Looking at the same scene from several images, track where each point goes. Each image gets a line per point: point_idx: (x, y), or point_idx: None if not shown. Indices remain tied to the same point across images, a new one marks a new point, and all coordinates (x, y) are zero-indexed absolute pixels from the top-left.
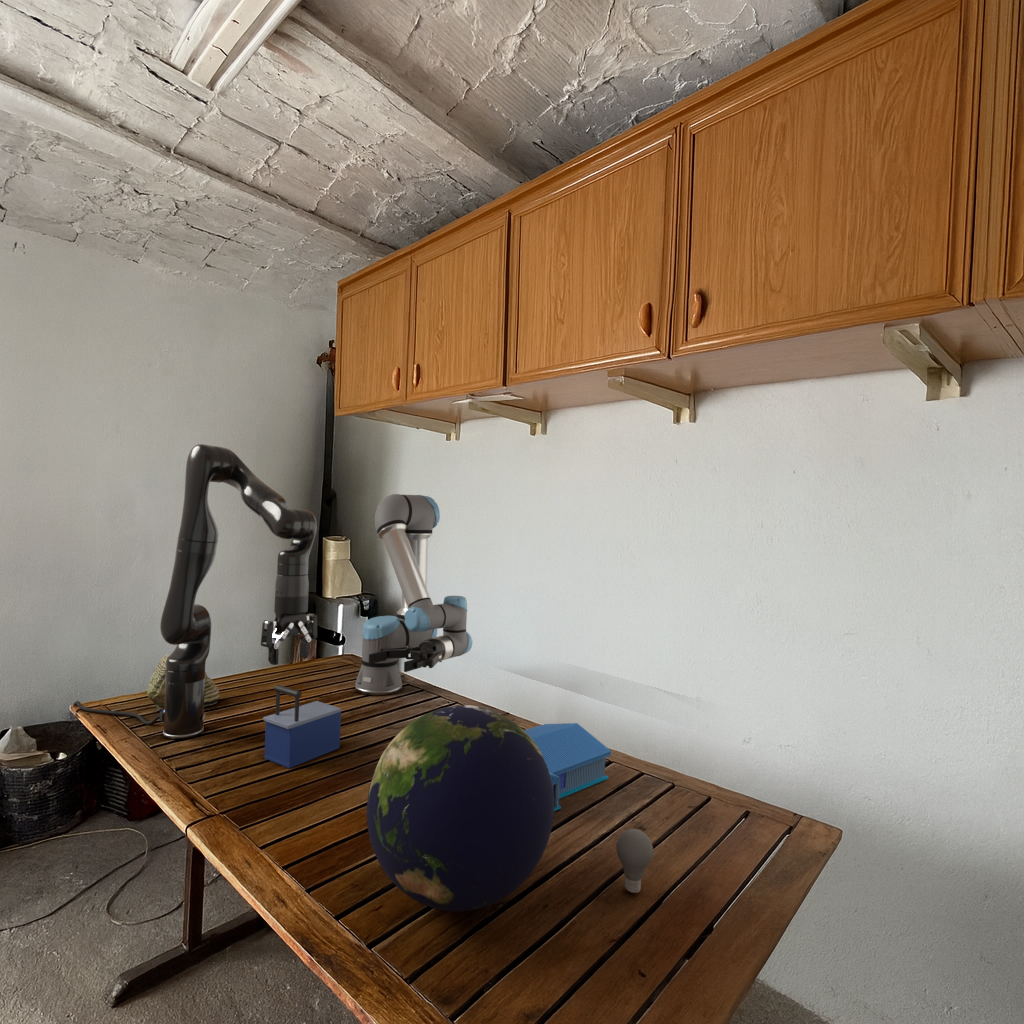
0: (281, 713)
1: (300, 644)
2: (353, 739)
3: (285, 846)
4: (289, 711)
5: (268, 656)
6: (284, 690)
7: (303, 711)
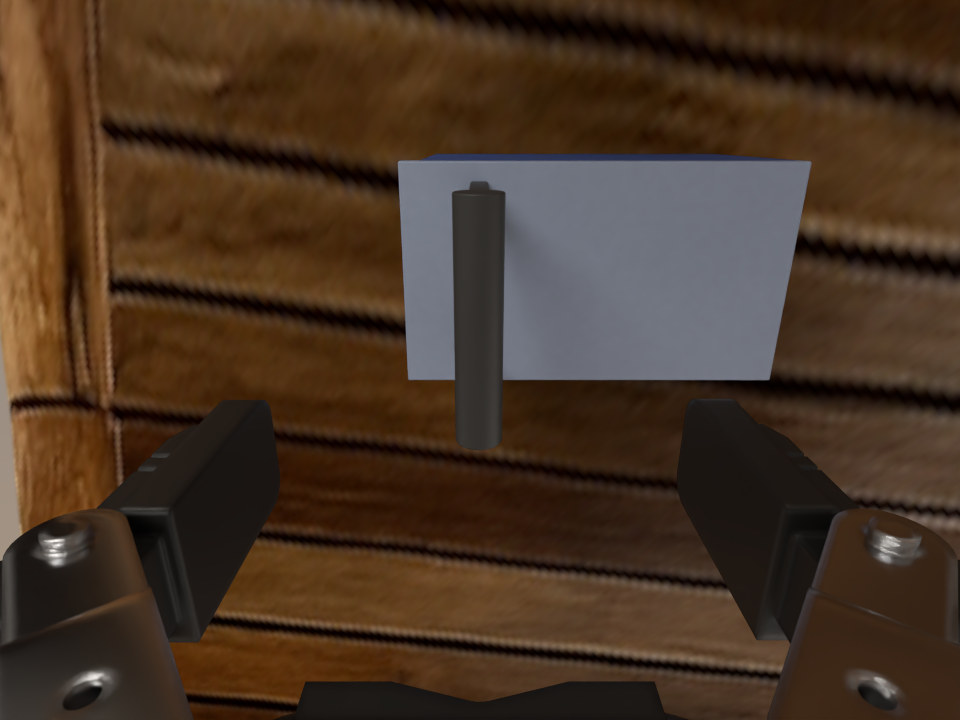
0: (508, 191)
1: (764, 491)
2: (800, 286)
3: (169, 643)
4: (561, 199)
5: (145, 463)
6: (454, 319)
7: (611, 262)
